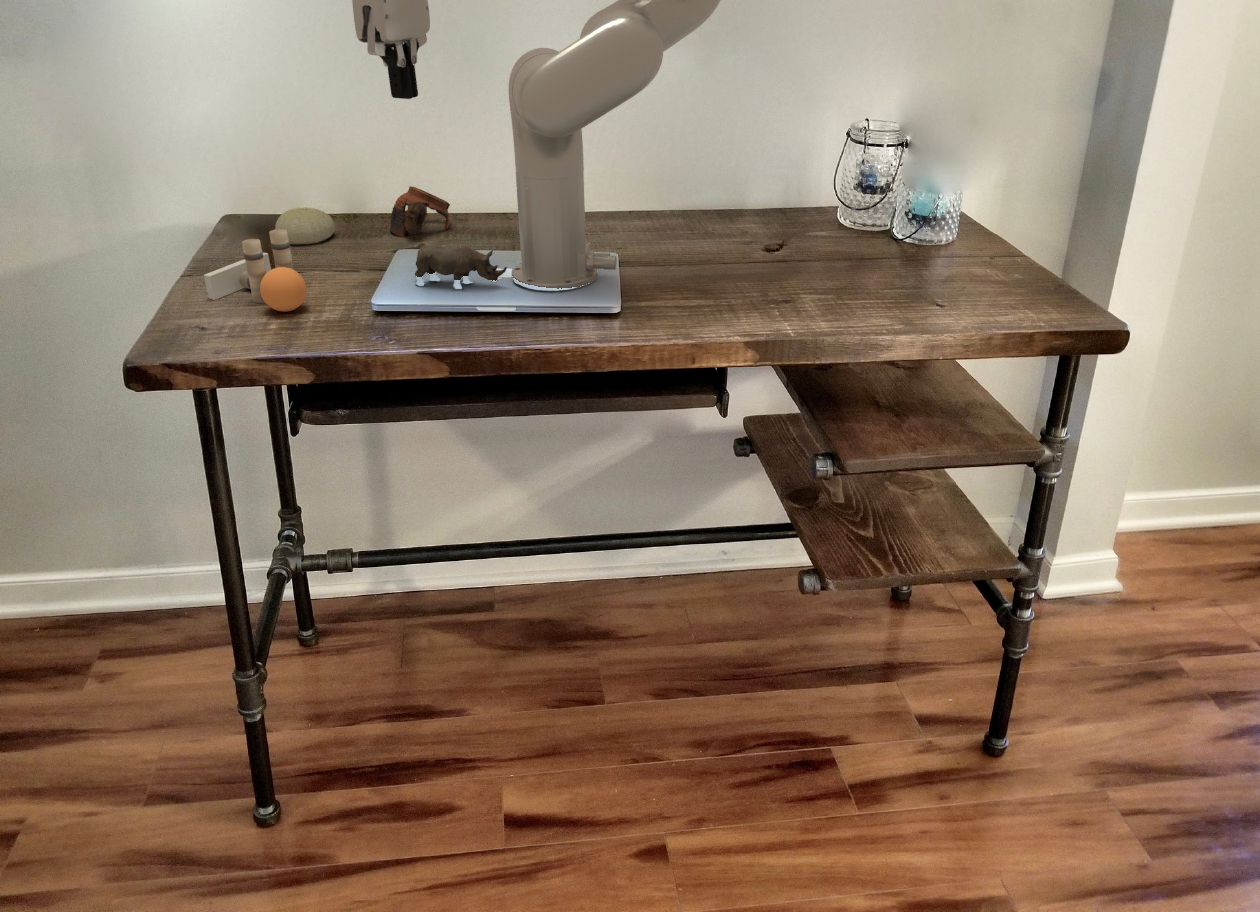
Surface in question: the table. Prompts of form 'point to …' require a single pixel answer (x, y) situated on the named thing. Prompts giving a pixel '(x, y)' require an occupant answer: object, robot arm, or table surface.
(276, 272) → the ball
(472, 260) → the rhino figurine
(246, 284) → the front pin
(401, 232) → the rust brown arched piece
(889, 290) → the table surface
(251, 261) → the left pin
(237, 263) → the rail
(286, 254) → the right pin
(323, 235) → the sea urchin shell
